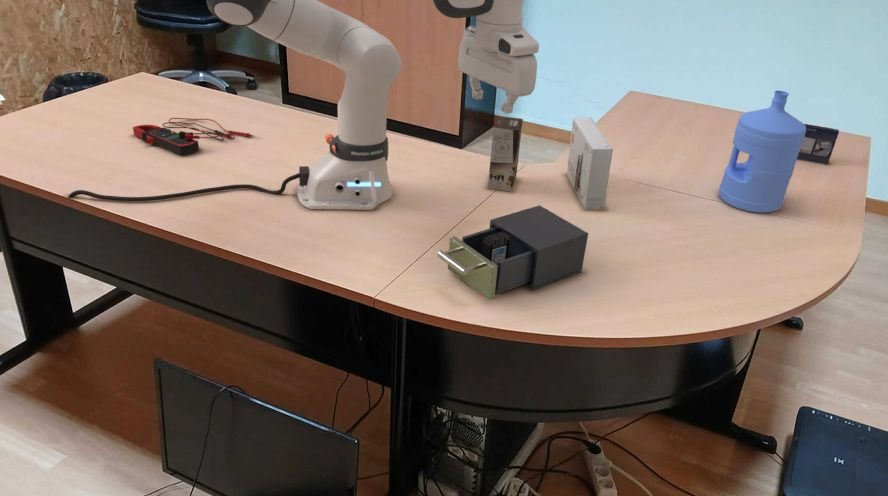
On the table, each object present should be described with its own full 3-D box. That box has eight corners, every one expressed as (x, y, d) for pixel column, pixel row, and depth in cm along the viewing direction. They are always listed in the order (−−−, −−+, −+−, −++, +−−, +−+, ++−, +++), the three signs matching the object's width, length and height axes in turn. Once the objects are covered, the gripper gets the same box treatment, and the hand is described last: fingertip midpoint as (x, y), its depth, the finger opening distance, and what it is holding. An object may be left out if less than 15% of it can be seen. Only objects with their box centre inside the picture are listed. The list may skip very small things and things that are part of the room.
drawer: (469, 308, 136) (472, 274, 132) (427, 275, 145) (429, 243, 141) (538, 282, 145) (543, 250, 141) (495, 253, 154) (498, 222, 150)
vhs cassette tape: (761, 152, 217) (771, 120, 212) (761, 149, 219) (771, 117, 214) (827, 165, 212) (839, 132, 206) (827, 161, 214) (839, 129, 209)
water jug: (780, 194, 192) (814, 89, 177) (782, 219, 179) (819, 107, 164) (718, 183, 196) (747, 79, 181) (716, 206, 183) (747, 96, 168)
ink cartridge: (487, 277, 144) (490, 241, 139) (480, 272, 145) (483, 236, 141) (506, 271, 146) (510, 235, 142) (499, 266, 148) (503, 231, 143)
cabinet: (532, 290, 144) (538, 250, 139) (486, 258, 154) (490, 219, 149) (581, 272, 152) (588, 233, 147) (534, 242, 161) (539, 205, 156)
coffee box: (512, 192, 183) (519, 130, 174) (486, 188, 184) (492, 127, 175) (516, 178, 190) (523, 118, 182) (492, 174, 191) (498, 114, 183)
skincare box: (563, 174, 194) (572, 116, 186) (584, 174, 195) (593, 117, 186) (582, 210, 177) (593, 147, 168) (604, 210, 177) (616, 148, 169)
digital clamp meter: (183, 145, 184) (123, 120, 196) (185, 162, 186) (126, 136, 198) (255, 122, 200) (196, 100, 212) (256, 138, 203) (198, 115, 214)
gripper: (452, 24, 146) (448, 92, 154) (520, 49, 133) (512, 123, 140) (477, 22, 150) (472, 88, 157) (545, 46, 136) (536, 118, 143)
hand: (491, 105), depth 148 cm, fingers open, 8 cm apart
